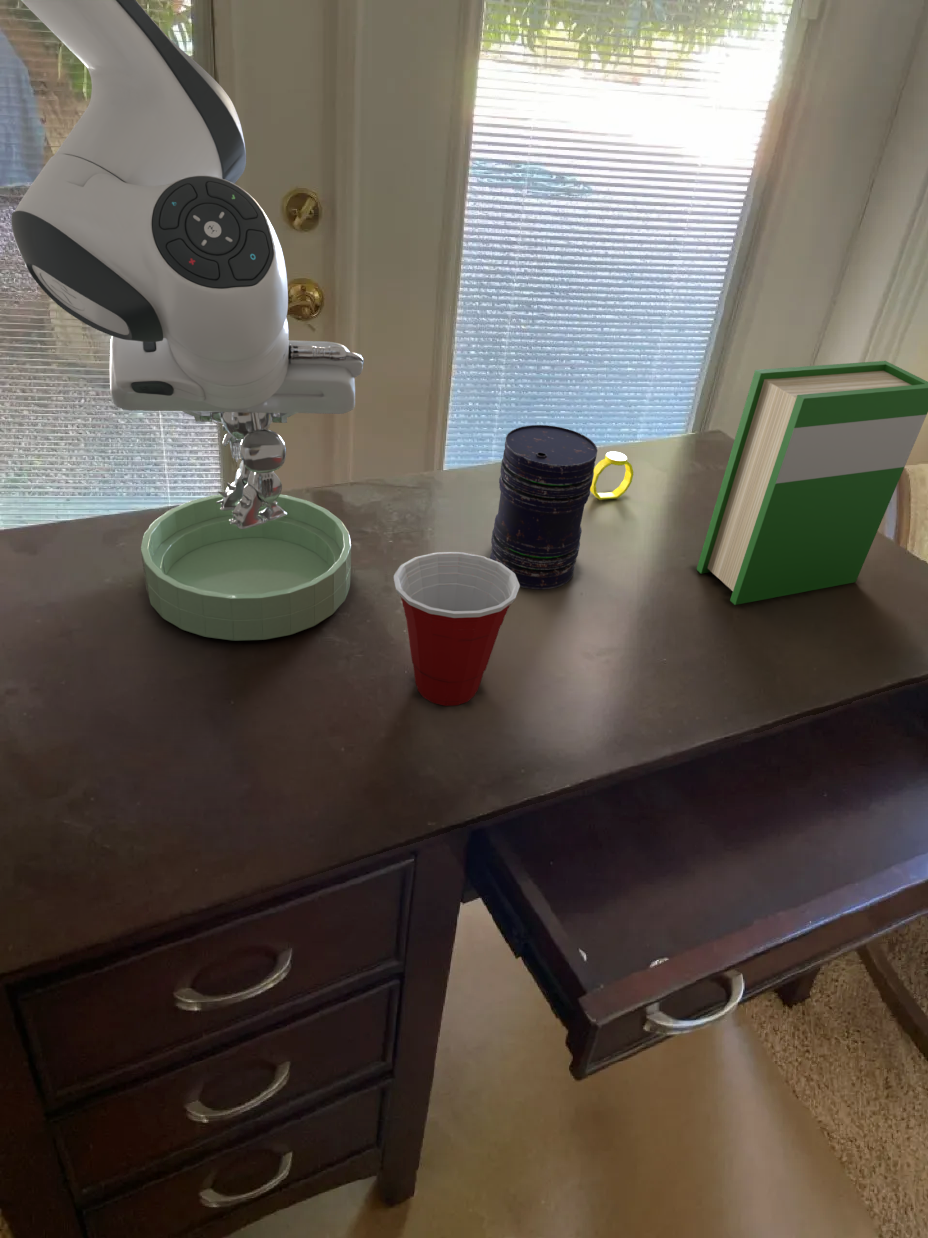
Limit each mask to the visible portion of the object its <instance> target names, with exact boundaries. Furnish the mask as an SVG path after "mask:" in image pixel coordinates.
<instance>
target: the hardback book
mask: <svg viewBox="0 0 928 1238" xmlns="http://www.w3.org/2000/svg"><path fill="white" fill-rule="evenodd" d="M751 379H752V380H751V383H750V386H749V389H748V393H747V396H746V401H745V403H744V407H743V409H742V413H741V416H740V420H739V424H738V427H737V430H736V433H735V437H734V441H733V444H732V447H731V451H730V455H729V458H728V462H727V464H726V467H725V471H724V475H723V478H722V481H721V485H720V487H719V492H718V495H717V498H716V502H715V504H714V505H715V506H714V509H713V512H712V515H711V518H710V522H709V526H708V529H707V533H706V536H705V539H704V544H703V546H702V549H701V551H700V552H701V553H700V556H699V560H698V563H697V566H696V571H697V572H698V573H699V574H707V573H712V575H714V576H715V577H716V578H717V579H719V580H720V581H721V582H722V583H723V584H724V585H725V586H726V587H727V588H728V589H729V590H730V591H732V593H731V596H730V599H729V601H730V602H731V603H732V604H733V605H734V606H737V605H743V604H747V603H748V604H749V603H752V602H757V601H758V602H759V601H764V600H769V599H773V598H779V597H783V596H784V597H785V596H789V595H794V594H795V595H796V594H799V593H805V592H811V591H817V590H822V589H826V588H832V587H836V586H837V587H838V586H842V585H848V584H853V583H856V582H857V580H858V578H859V575H860V573H861V572H862V568H863V566H864V564H865V561H866V560H867V557H868V554H869V552H870V549H871V547H872V545H873V543H874V539H875V538H876V536H877V534H878V531H879V529H880V526H881V524H882V521H883V519H884V517H885V515H886V512H887V509H888V507H889V505H890V503H891V500H892V498H893V495H894V493H895V490H896V488H897V486H898V483H899V481H900V479H901V477H902V474H903V471H904V469H905V467H906V464H907V462H908V460H909V457H910V456H911V453H912V451H913V449H914V446H915V444H916V441H917V439H918V436H919V434H920V432H921V430H922V427H923V424H924V422H925V420H926V417H927V415H928V380H925V379H924V378H922V377H920V376H917V375H915V374H913V373H912V372H909V371H907V370H906V369H903V368H901V367H899V366H897V365H896V364H893V363H891V362H889V361H887V360H877V361H862V362H850V363H849V362H848V363H834V364H821V365H806V366H805V365H804V366H789V367H778V368H777V367H775V368H764V369H755V370H754V373H753V376H752V378H751Z"/></svg>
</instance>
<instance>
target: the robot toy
mask: <svg viewBox="0 0 928 1238" xmlns="http://www.w3.org/2000/svg"><path fill="white" fill-rule="evenodd" d="M211 414H212V422H215V423H218V424H222V426H221V428H222V429H221V430H222V431H223V432H226V434H225V435H224V438H223V440H222V446H223V447H226V446H227V445H228V444H229V447H230V453H231V457H232V459H235V462H236V463H240V464H239V468H238V469H237V471H236V472H235V476H234V481H233V482H232V483H230V482H228V481H226V486H227V487H226V489H225V490H224V491H219V490H218V491H217V494H218V495H219V494H220V495H222V496H223V500H222V501H219V502H216V503H221V510H222V511H226V510H234V512H231V513H232V514H233V519H230V520H229V521H230V522H231V523H230V525H232V524H234V525H236V526H237V527H238V528H240V529H247V528H250V527H254V526H257V525H261V524H264V523H266V522H267V521H272V520H275V519H278V518H280V517H283V516H285V515H287V512H286V511H284V510H283V509H282V508H281V507H280V506H278V505H277V501H276V500H277V498H278V497H279V495H280V494H282V491H283V483H282V480H281V478H280V477H279V476H278V475H277V474H276V473H275V472H276V471H277V470H279V469H280V468H282V467H283V465H284V464H285V461H286V458H287V446H286V442H285V441H284V439H283V438H282V436H281V435H280V434H279V433H277V432H276V431H274V430H271V429H270V427H271V425H272V424H273V423H272V422H273V413H251V412H212V413H211ZM239 460H241V461H240V462H239ZM274 471H275V472H274ZM262 506H266V509H265V510H262V511H261V512H260V513H259V514H260V515H261V516H262V517H263V518H264V519H263V518H261V517H260V516H258V512H259V510H260V507H262Z"/></svg>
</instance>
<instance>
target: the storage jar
mask: <svg viewBox="0 0 928 1238" xmlns="http://www.w3.org/2000/svg"><path fill="white" fill-rule="evenodd" d="M597 456H598V447H597V445H596V443H595V442H594V441H593V440H592V439H590V438H589V437H587V436H586V435H584V434H582V433H580V432H577V431H575V430H573V429H570V428H566V427H561V426H555V425H549V424H548V425H547V424H532V425H531V424H530V425H524V426H519V427H516V428H514V429H512V430H510V431H509V432H508V433H507V434H506V436H505V440H504V450H503V454H502V459H501V463H500V476H499V479H498V483H499V484H498V485H499V487H498V489H499V491H500V495H499V501H498V510H497V514H496V515H495V517H494V523H493V528H492V532H491V539H490V541H491V542H490V543H491V544H490V545H491V547H490V548H491V549H490V555H489V559H492V560H494V561H497V562H500V563H502V564H503V565H504V566H506V567H507V568H508V569H510V570H511V571H512V572H513V573H515V575H516V577H517V580H518V582H519V584H520V587H519V588H525V589H530V590H551V589H556V588H559V587H561V586H563V585H566V584H567V583H569V581H570V580H571V579H572V578H573V576H574V572H575V564H576V563H577V562H576V561H577V558H578V556H579V552H580V546H581V538H582V531H583V530H582V520H583V515H584V512H585V511H584V510H585V506H586V504H587V503H588V501H589V497H590V496H591V491H590V487H591V486H592V481H593V476H594V467H595V466H596V460H597Z"/></svg>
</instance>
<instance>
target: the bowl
mask: <svg viewBox="0 0 928 1238" xmlns="http://www.w3.org/2000/svg"><path fill="white" fill-rule="evenodd" d="M222 500H223V496H222V495H220V494H219V493H218V494H212V495H209V496H204V497H200V498H197V499H196V498H195V499H193V500H190V501H187V502H185V503H183V504H181V505H178V506H176V507H174V508H171V509H169V510H167V511H166V512H165V513H164V514H162V515H161V516H159V517H158V518H157V519H155V520H154V521H153V522H152V523H151V524H150V525H149V527H148V528H147V529H146V531H145V532H144V533H143V536H142V540H141V545H140V555H141V562H142V569H143V577H144V584H145V589H146V593H147V597H148V601H149V604H150V606H152V608H153V609H154V610H155V611H156V612H157V613H158V615H159V616H160V617H161V618H162V619H163V620H165V621H167V622H168V623H170V624H172V625H173V626H175V627H177V628H179V629H180V630H181V631H186V632H187V633H188V632H189V633H192V634H195V635H198V636H201V637H205V638H209V639H210V638H212V639H217V640H226V641H235V642H236V641H237V642H239V641H262V640H263V641H265V640H271V639H276V638H281V637H286V636H291V635H294V634H296V633H299V632H302V631H304V630H305V631H306V630H307V629H310V628H313V627H315V626H317V625H318V624H320V623H321V622H323V621H325V620H326V619H327V618H329V617H331V616H333V615H334V613H335V612H336V611H337V610H338V609H339V608H340V607H341V605H342V604H343V603H345V601H346V599H347V596H348V594H349V591H350V587H351V573H352V571H351V567H352V566H351V565H352V544H351V543H352V542H351V535H350V532H349V530H348V529H347V527H346V525H345V524H344V523H343V521H342V520H341V519H340V518H339V517H337V516H336V515H335V514H333V512H330V510H329V509H327V508H325V507H322V506H320V505H318V504H317V503H314V502H312V501H309V500H306V499H303V498H298V497H295V496H291V495H287V494H282V493H280V495H279V497H278V498H277V500H276V501H277V505H278V506H280V507H281V508H282V509H283V510H284V511H286V512H287V515H285V516H283V517H280V518H278V519H275V520H272V521H267V522H266V523H264V524H261V525H257V526H254V527H250V528H247V529H240V528H238V527H237V526H236V525H234V524H232V525H230V523H231V522H230V521H229V520H230V519H233V514H232V513H231V512H234V510H226V511H222V510H221V503H216V502H219V501H222ZM265 509H266V506H262V507H260V510H259V512H258V516H260V517H261V518H263V517H262V516H261V515H260V514H259V513H260V512H261V511H262V510H265ZM263 519H264V518H263Z"/></svg>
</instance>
